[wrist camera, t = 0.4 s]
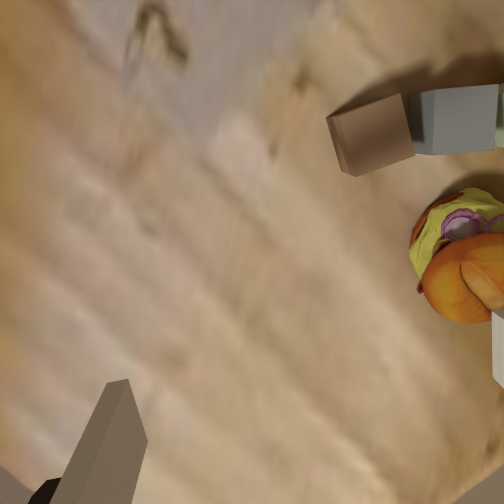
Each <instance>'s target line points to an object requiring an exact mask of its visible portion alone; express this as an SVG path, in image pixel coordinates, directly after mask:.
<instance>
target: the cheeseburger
mask: <svg viewBox="0 0 504 504" xmlns="http://www.w3.org/2000/svg"><path fill="white" fill-rule="evenodd" d="M457 193H463V194H453V195H451V196H448V197H446V198H443V199H441V200H439V201H437V202H436V203H435V204H433V205H432V206H431V207H430V208H429V209H428V210H427V211H425V212H424V213H423V214H422V215H421V217H420V219H419V220H418V222H417V223H416V225H415V226H414V228H413V230H412V235H411V241H410V256H409V258H410V260H411V261H412V263H413V266H414V268H415V271H416V273H417V274H418V276H419V278H420V280H419V281H418V284H417V287H416V290H417V292H418V293H419V294H421V293H423V292H424V295H425V297H426V299H427V300H428V302H429V303H430V305H431V306H432V307H433V309H434V310H435V311H436V312H437V313H439V314H440V315H442V316H444V317H445V318H447V319H449V320H451V321H454V322H458V323H464V324H472V323H481V322H486V321H490V320H492V311H494V310H499V309H504V204H503V203H501V202H499V201H497V200H495V199H494V198H493V196H492V195H491V194H490V193H489V192H486V191H483V190H480V189H478V188H466V189H464V190H462V191H459V192H457Z"/></svg>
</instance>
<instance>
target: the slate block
mask: <svg viewBox="0 0 504 504" xmlns="http://www.w3.org/2000/svg"><path fill="white" fill-rule="evenodd" d="M498 88H499V84H493V85H481V86H469V87H458V88H446V89H435V90H430V91H425V92H420V93H415V94H410V115H409V131H410V135H411V139H412V143H413V147H414V152H415V153H417V154H425V155H443V154H455V153H466V152H477V151H489V150H494V144H495V130H496V116H497V102H498Z"/></svg>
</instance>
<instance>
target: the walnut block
mask: <svg viewBox="0 0 504 504" xmlns="http://www.w3.org/2000/svg"><path fill="white" fill-rule="evenodd" d="M326 121H327V124H328V127H329V131H330V134H331V137H332V141H333V144H334V148H335V151H336V154H337V158H338V161H339V164H340V168H341V171H342V172H345V173H347V174H350V175H352V176H355V177H357V176H360V175H363V174H366V173H368V172H371V171H374V170H377V169H379V168H382V167H385V166H388V165H390V164H393V163H396V162H399V161H401V160H404V159H407V158H410V157H412V156H415V152H414V147H413V143H412V139H411V135H410V131H409V127H408V123H407V119H406V115H405V111H404V106H403V102H402V98H401V94H400V93H399V94H394V95H390V96H385V97H381V98H378V99H375V100H372V101H370V102H367V103H364V104H362V105H359V106H356V107H353V108H351V109H348V110H345V111H343V112H340V113H337V114H335V115H332V116H329V117H327V118H326Z"/></svg>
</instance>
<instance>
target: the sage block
mask: <svg viewBox="0 0 504 504" xmlns="http://www.w3.org/2000/svg"><path fill="white" fill-rule="evenodd" d="M495 141H496V144H497V146H498V147H504V82H503V83H502V84H500V85H499V88H498V102H497V116H496V130H495Z"/></svg>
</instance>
